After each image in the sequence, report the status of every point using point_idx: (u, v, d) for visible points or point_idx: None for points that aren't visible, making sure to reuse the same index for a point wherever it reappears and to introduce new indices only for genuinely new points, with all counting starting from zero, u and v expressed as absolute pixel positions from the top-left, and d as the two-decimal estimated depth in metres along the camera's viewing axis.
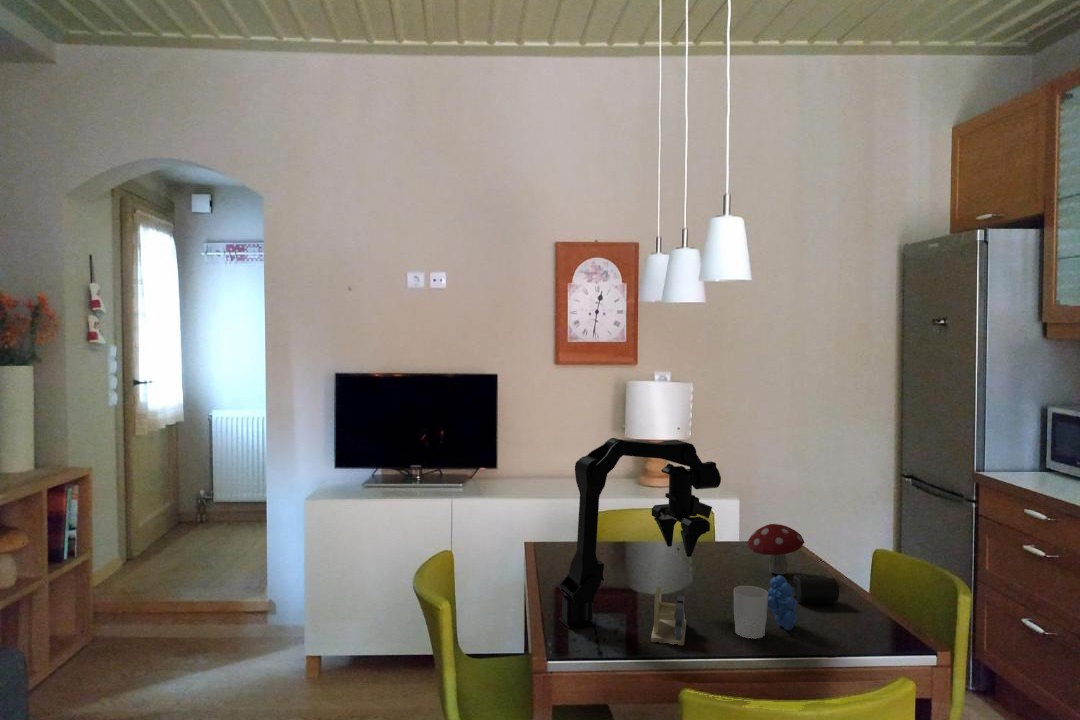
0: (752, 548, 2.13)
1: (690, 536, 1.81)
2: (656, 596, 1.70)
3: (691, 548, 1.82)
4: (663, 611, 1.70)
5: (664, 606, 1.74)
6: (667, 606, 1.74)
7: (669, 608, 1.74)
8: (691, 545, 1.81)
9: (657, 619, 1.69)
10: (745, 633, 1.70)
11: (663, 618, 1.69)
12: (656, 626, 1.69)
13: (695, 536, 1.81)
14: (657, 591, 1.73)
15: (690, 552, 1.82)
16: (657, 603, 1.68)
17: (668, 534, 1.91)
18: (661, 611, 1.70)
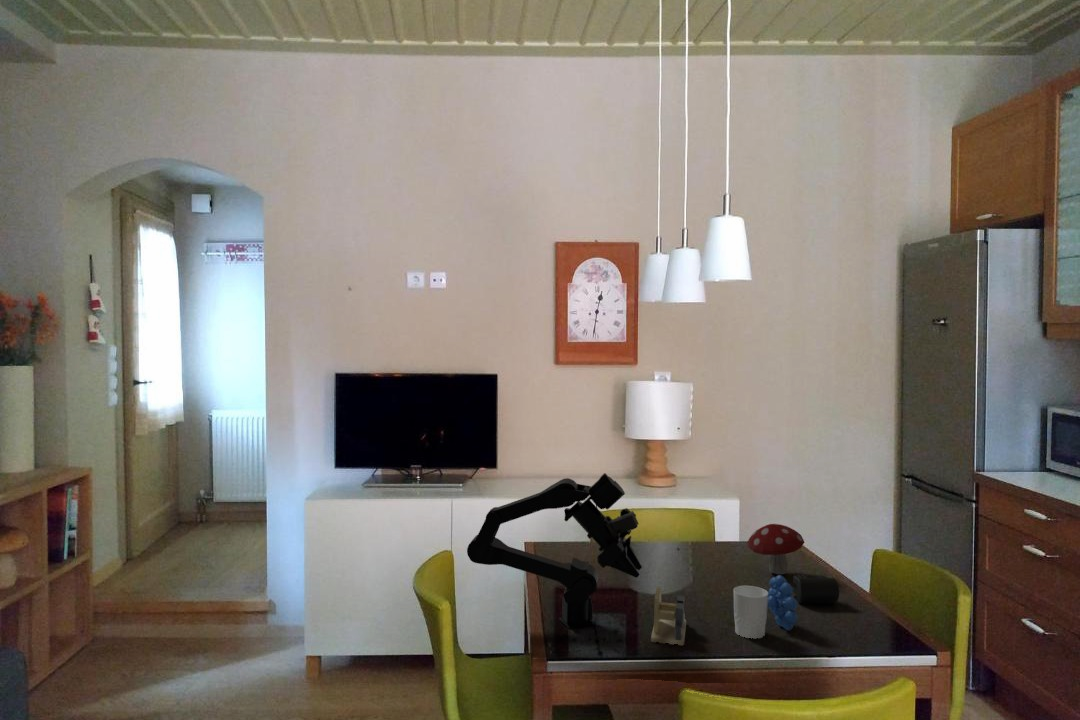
0: (752, 548, 2.13)
1: (619, 561, 1.70)
2: (656, 596, 1.70)
3: (631, 569, 1.70)
4: (663, 611, 1.70)
5: (664, 606, 1.74)
6: (667, 606, 1.74)
7: (669, 608, 1.74)
8: (628, 567, 1.70)
9: (657, 619, 1.69)
10: (745, 633, 1.70)
11: (663, 618, 1.69)
12: (656, 626, 1.69)
13: (623, 558, 1.70)
14: (657, 591, 1.73)
15: (634, 572, 1.70)
16: (657, 603, 1.68)
17: (630, 559, 1.77)
18: (661, 611, 1.70)
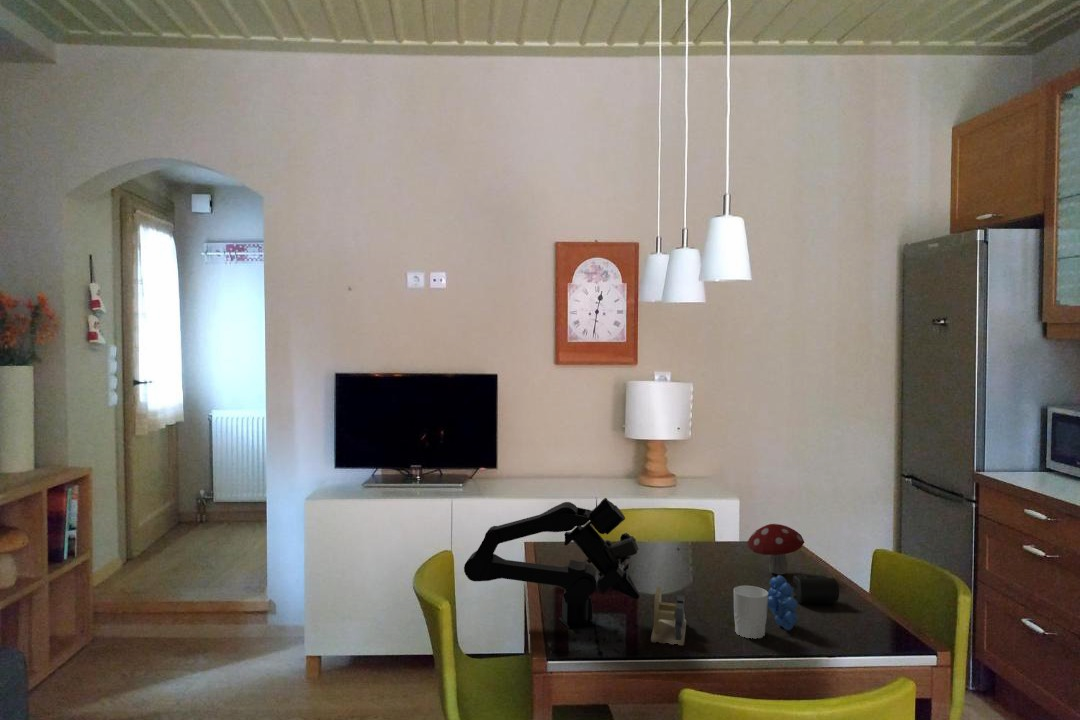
0: (752, 548, 2.13)
1: (620, 583, 1.73)
2: (656, 596, 1.70)
3: (631, 591, 1.73)
4: (663, 611, 1.70)
5: (664, 606, 1.74)
6: (667, 606, 1.74)
7: (669, 608, 1.74)
8: (628, 589, 1.73)
9: (657, 619, 1.69)
10: (745, 632, 1.70)
11: (663, 618, 1.69)
12: (656, 626, 1.69)
13: (624, 580, 1.72)
14: (657, 591, 1.73)
15: (634, 594, 1.73)
16: (657, 603, 1.68)
17: None
18: (661, 611, 1.70)
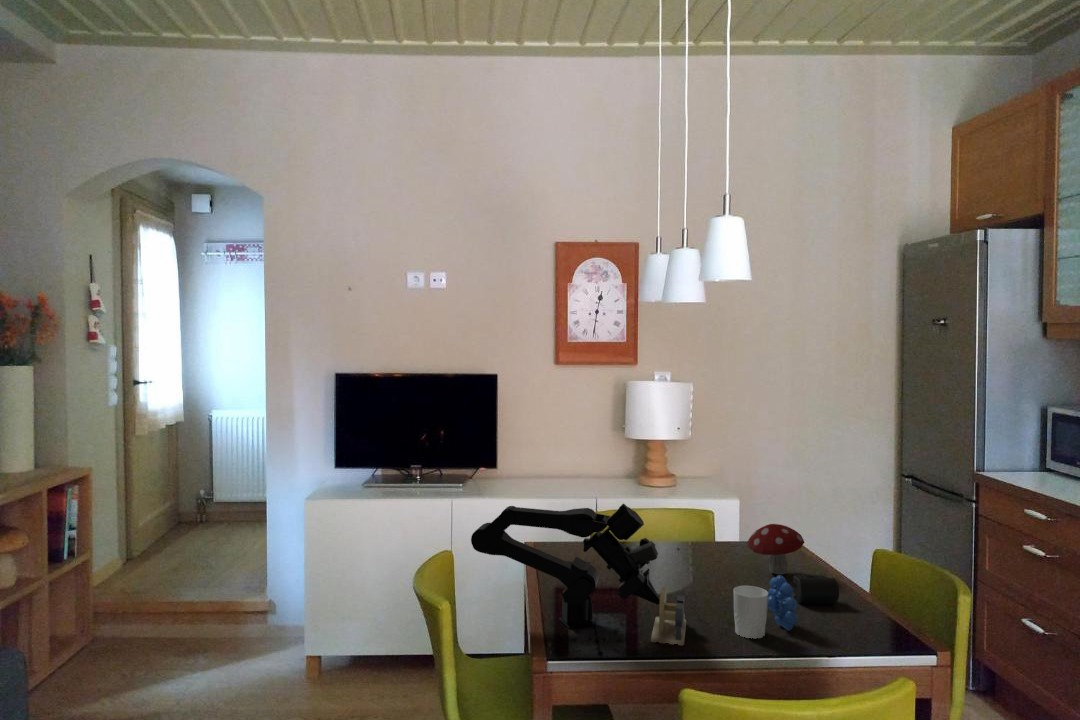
0: (752, 548, 2.13)
1: (641, 588, 1.72)
2: (661, 597, 1.69)
3: (652, 596, 1.72)
4: (668, 612, 1.69)
5: (669, 607, 1.74)
6: (672, 607, 1.73)
7: (674, 609, 1.73)
8: (649, 594, 1.72)
9: (662, 620, 1.68)
10: (745, 633, 1.70)
11: (668, 619, 1.69)
12: (661, 627, 1.68)
13: (645, 585, 1.71)
14: (662, 591, 1.73)
15: (655, 600, 1.72)
16: (662, 604, 1.68)
17: None
18: (666, 612, 1.69)
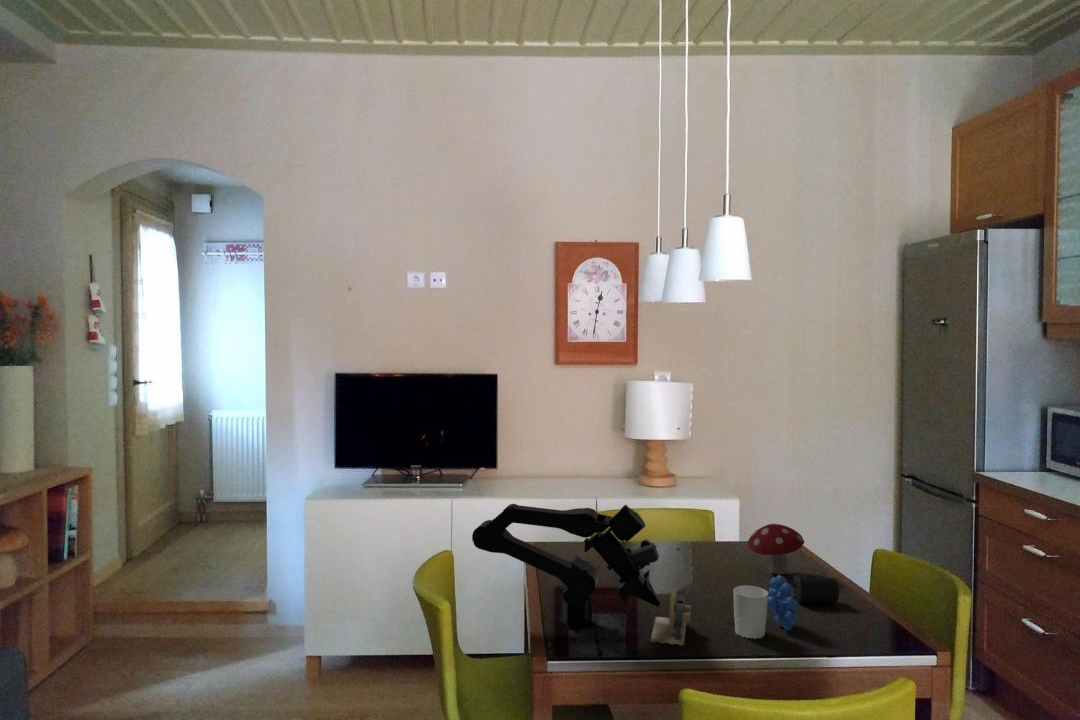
0: (752, 548, 2.13)
1: (641, 590, 1.72)
2: (671, 598, 1.69)
3: (652, 598, 1.72)
4: None
5: None
6: None
7: (684, 610, 1.73)
8: (649, 596, 1.72)
9: (672, 621, 1.68)
10: (745, 633, 1.70)
11: None
12: (671, 628, 1.68)
13: (645, 587, 1.71)
14: (672, 592, 1.72)
15: (655, 601, 1.72)
16: (672, 605, 1.68)
17: None
18: None
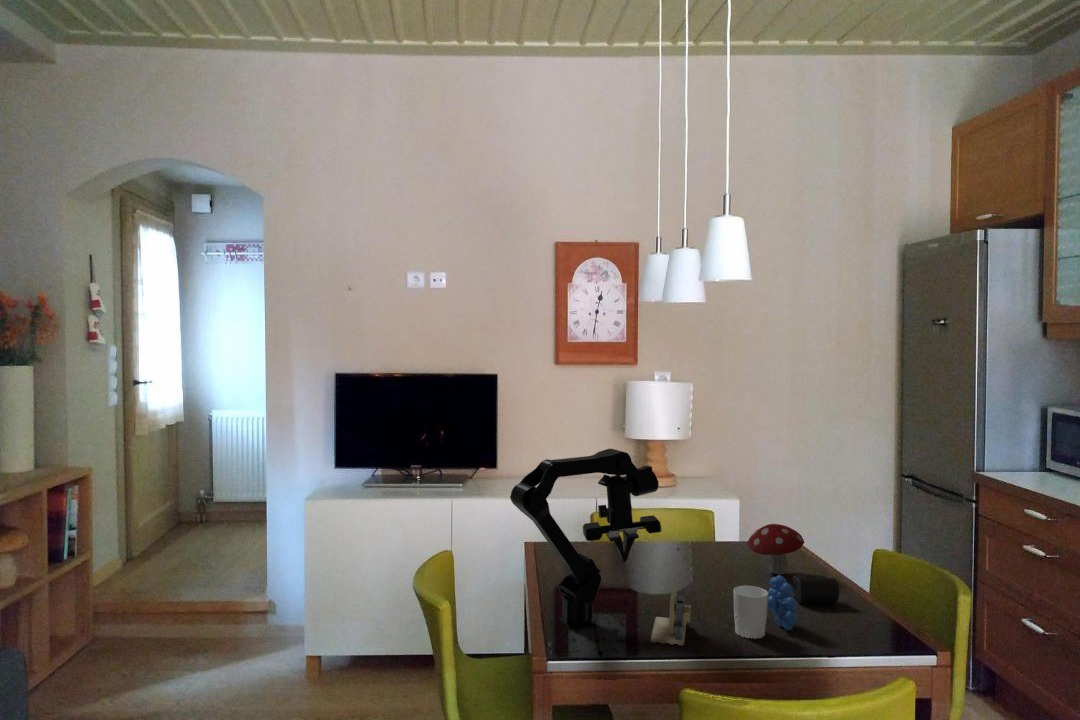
0: (752, 548, 2.13)
1: None
2: (671, 598, 1.69)
3: None
4: None
5: None
6: None
7: (684, 610, 1.73)
8: None
9: (672, 621, 1.68)
10: (745, 633, 1.70)
11: None
12: (671, 628, 1.68)
13: None
14: (672, 592, 1.72)
15: None
16: (672, 605, 1.68)
17: None
18: None
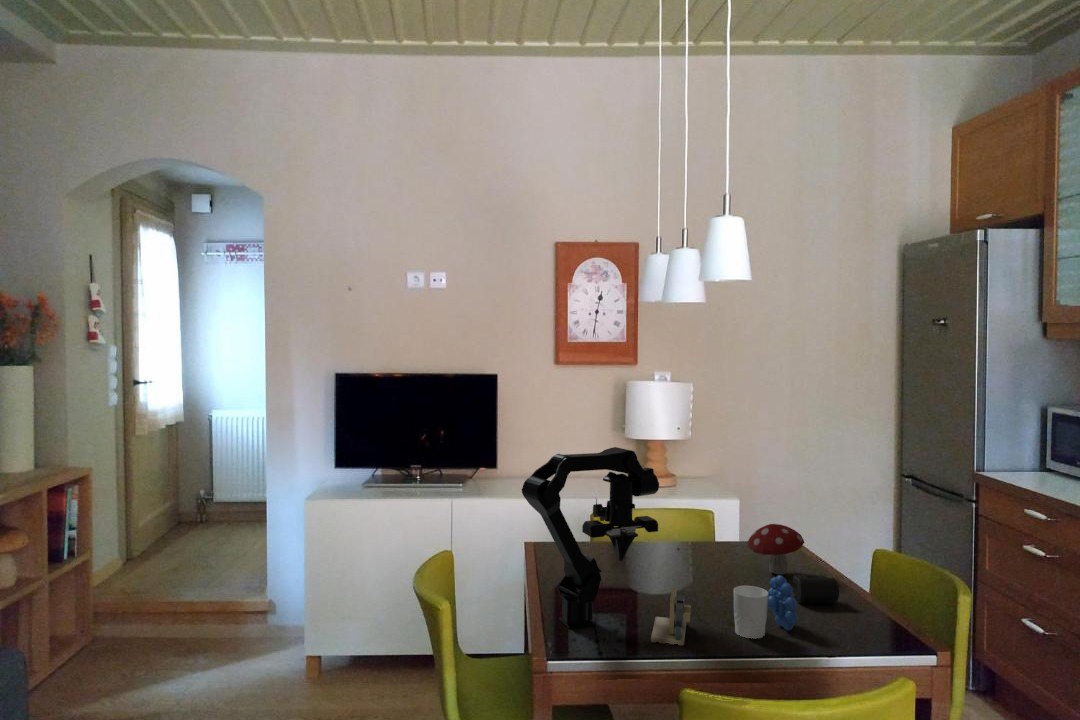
0: (752, 548, 2.13)
1: None
2: (671, 598, 1.69)
3: None
4: None
5: None
6: None
7: (684, 610, 1.73)
8: None
9: (672, 621, 1.68)
10: (745, 633, 1.70)
11: None
12: (671, 628, 1.68)
13: None
14: (672, 592, 1.72)
15: None
16: (672, 605, 1.68)
17: None
18: None
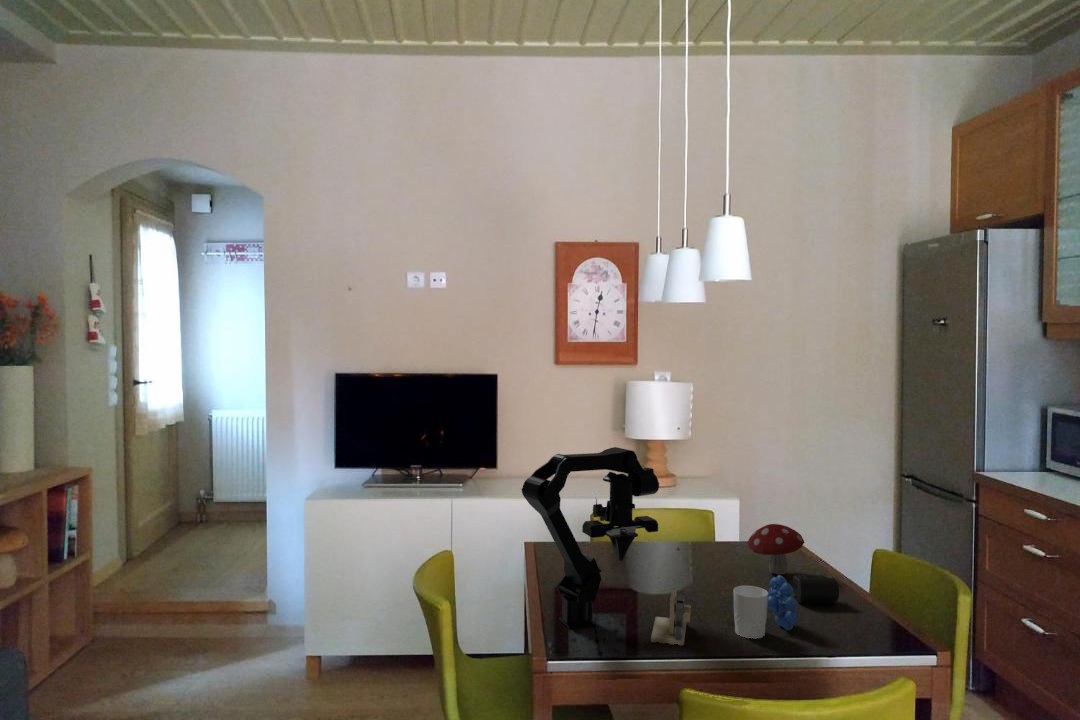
0: (752, 548, 2.13)
1: None
2: (671, 598, 1.69)
3: None
4: None
5: None
6: None
7: (684, 610, 1.73)
8: None
9: (672, 621, 1.68)
10: (745, 632, 1.70)
11: None
12: (671, 628, 1.68)
13: None
14: (672, 592, 1.72)
15: None
16: (672, 605, 1.68)
17: None
18: None
